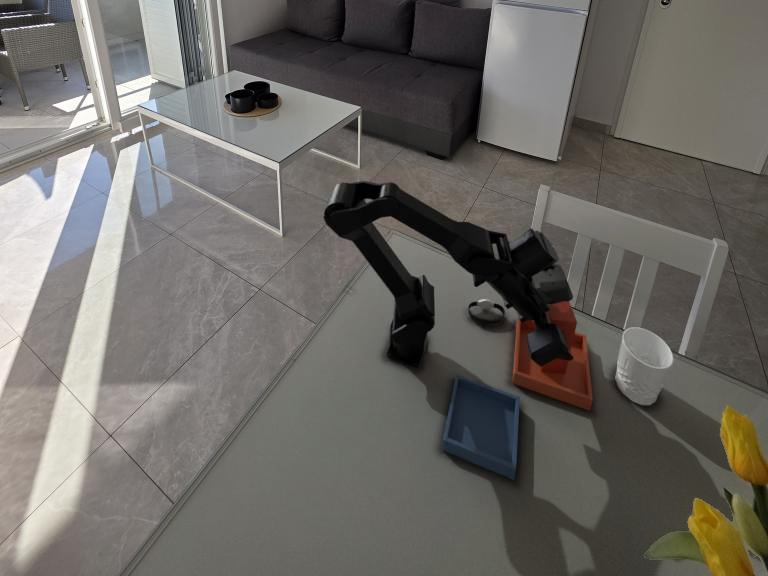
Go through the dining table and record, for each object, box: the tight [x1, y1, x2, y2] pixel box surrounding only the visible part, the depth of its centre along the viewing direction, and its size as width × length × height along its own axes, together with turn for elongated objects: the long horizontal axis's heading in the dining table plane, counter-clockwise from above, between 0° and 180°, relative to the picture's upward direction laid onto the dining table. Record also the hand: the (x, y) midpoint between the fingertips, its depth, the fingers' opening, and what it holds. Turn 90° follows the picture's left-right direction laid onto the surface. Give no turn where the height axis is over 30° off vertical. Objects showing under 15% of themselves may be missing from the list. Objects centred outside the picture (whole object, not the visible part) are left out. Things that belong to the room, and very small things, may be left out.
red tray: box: [512, 317, 594, 411], centre depth 83 cm, size 13×13×3 cm
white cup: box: [614, 326, 674, 406], centre depth 78 cm, size 8×8×10 cm
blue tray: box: [441, 374, 521, 481], centre depth 72 cm, size 11×11×2 cm
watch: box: [467, 298, 506, 326], centre depth 92 cm, size 8×5×4 cm, turn 85°
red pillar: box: [540, 301, 578, 374], centre depth 81 cm, size 4×4×13 cm
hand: (563, 335), depth 81 cm, fingers open, 9 cm apart
